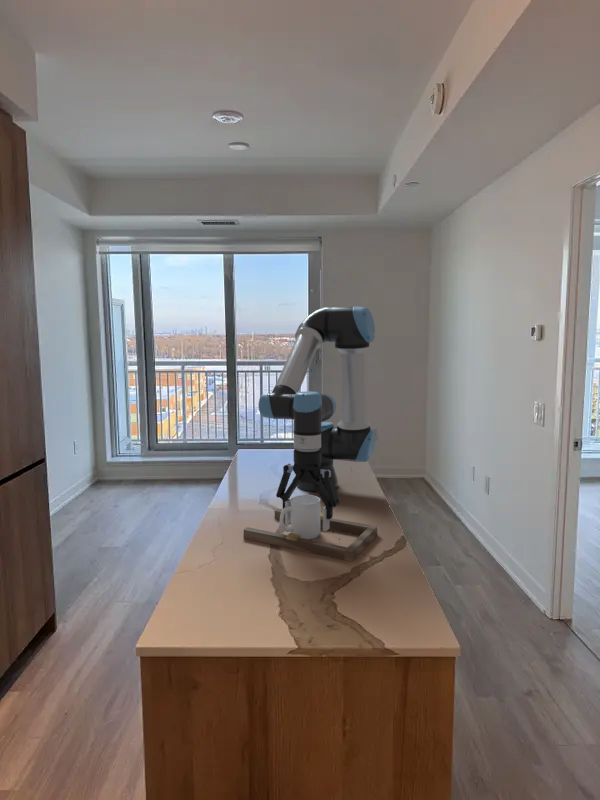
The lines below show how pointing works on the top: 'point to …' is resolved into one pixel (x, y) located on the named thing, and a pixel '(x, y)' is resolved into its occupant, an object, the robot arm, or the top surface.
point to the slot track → (316, 547)
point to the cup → (303, 516)
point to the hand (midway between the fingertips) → (307, 526)
